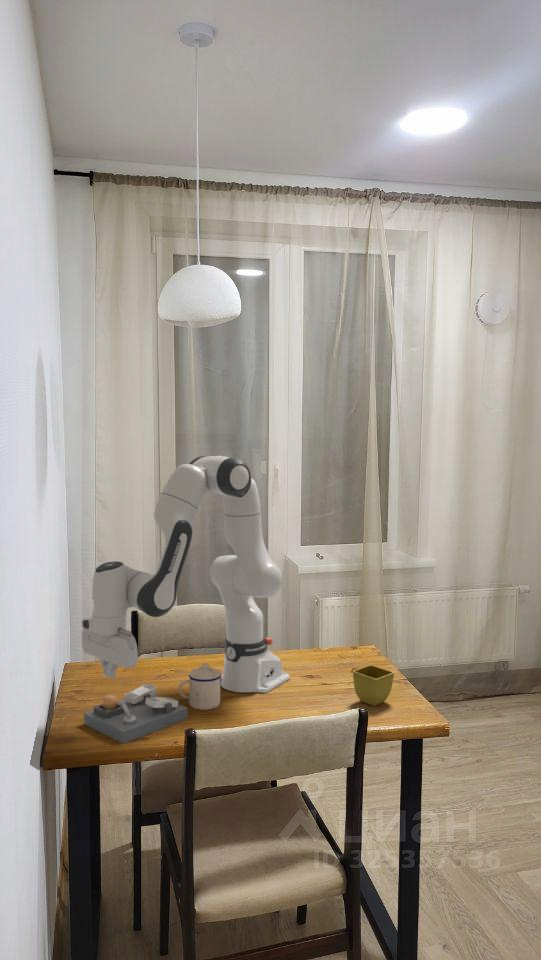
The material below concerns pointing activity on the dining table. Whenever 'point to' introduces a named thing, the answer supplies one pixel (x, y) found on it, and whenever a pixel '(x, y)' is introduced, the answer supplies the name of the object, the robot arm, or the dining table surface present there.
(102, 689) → the dining table surface
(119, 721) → the panel
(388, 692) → the flower pot
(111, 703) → the button
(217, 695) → the teacup with lid
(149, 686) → the rocker
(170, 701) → the rocker
